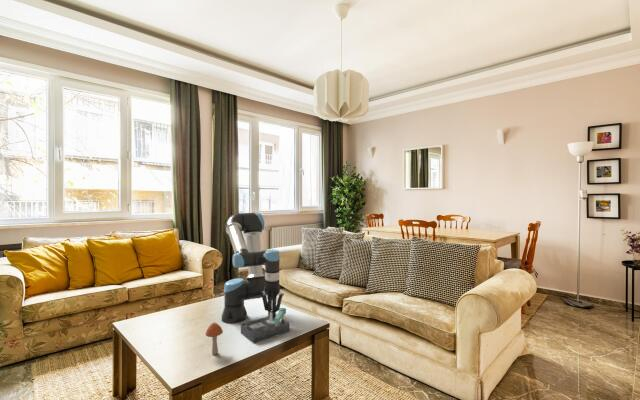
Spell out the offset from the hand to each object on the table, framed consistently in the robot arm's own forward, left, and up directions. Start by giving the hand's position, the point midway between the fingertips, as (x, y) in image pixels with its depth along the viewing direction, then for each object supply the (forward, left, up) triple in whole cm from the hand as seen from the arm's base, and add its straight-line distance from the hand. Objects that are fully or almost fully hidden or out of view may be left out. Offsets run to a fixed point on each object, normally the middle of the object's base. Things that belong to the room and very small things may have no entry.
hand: (271, 323), depth 172 cm
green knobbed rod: (-1, +4, 0) cm, 4 cm away
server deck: (-8, 0, -7) cm, 11 cm away
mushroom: (-2, -30, -8) cm, 31 cm away
